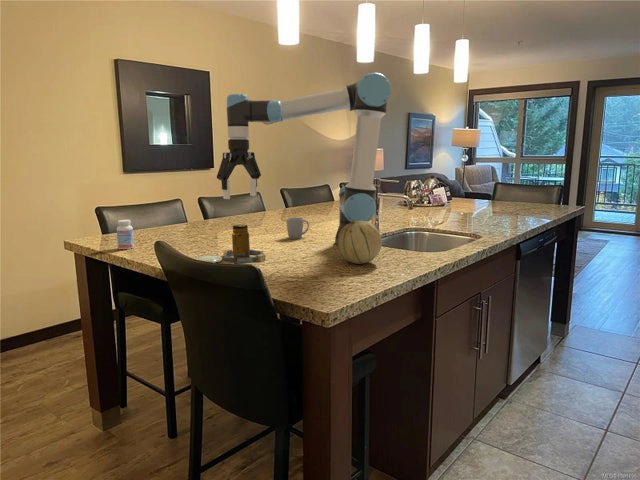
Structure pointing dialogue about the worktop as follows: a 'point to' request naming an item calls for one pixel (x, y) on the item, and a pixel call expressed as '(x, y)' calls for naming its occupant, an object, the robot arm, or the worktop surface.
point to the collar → (258, 257)
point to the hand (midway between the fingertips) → (240, 197)
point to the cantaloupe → (359, 242)
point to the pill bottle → (125, 235)
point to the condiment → (241, 241)
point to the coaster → (210, 258)
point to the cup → (296, 227)
